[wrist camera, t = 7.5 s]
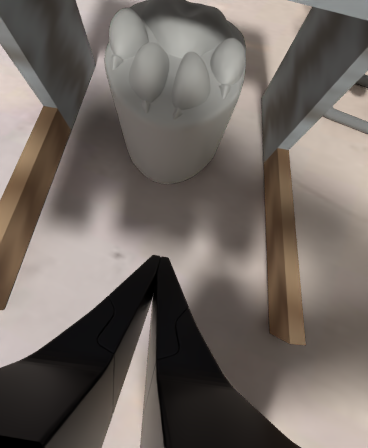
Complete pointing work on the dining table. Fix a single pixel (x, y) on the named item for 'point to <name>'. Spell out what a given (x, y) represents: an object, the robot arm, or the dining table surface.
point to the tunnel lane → (271, 123)
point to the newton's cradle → (346, 118)
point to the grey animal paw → (173, 83)
